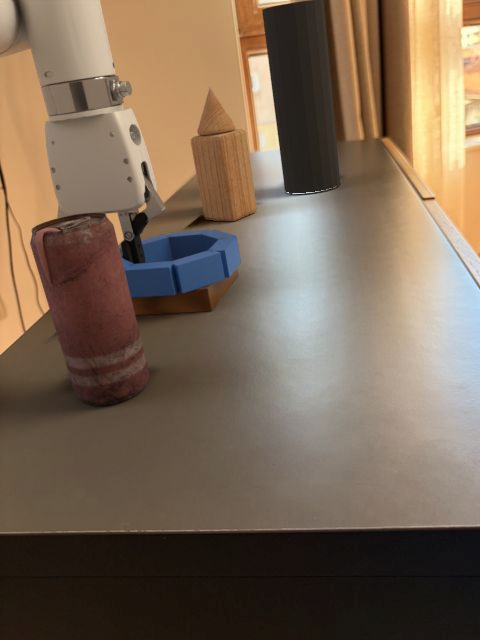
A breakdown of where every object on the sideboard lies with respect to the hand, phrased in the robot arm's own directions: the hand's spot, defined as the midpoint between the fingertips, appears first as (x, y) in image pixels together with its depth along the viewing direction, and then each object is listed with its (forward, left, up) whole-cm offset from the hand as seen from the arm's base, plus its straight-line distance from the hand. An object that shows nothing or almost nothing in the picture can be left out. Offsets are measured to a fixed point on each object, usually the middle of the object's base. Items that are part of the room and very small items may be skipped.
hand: (124, 272), depth 72 cm
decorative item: (+2, +37, -3) cm, 37 cm away
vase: (+13, +54, -3) cm, 56 cm away
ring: (+6, 0, -1) cm, 6 cm away
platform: (+6, 0, -3) cm, 7 cm away
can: (+8, -22, -3) cm, 24 cm away
